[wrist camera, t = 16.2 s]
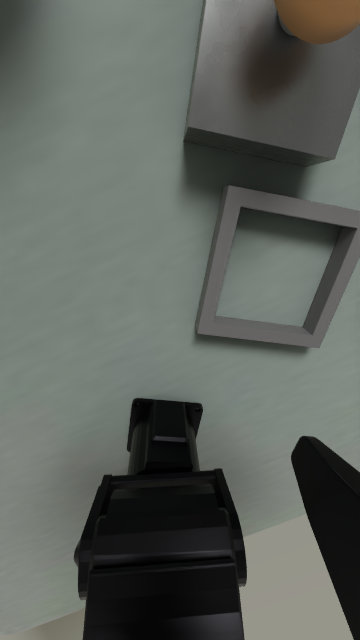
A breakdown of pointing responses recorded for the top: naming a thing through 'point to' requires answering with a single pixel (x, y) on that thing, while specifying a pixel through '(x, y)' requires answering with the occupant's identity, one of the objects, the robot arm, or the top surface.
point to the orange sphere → (318, 18)
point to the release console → (269, 86)
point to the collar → (351, 244)
